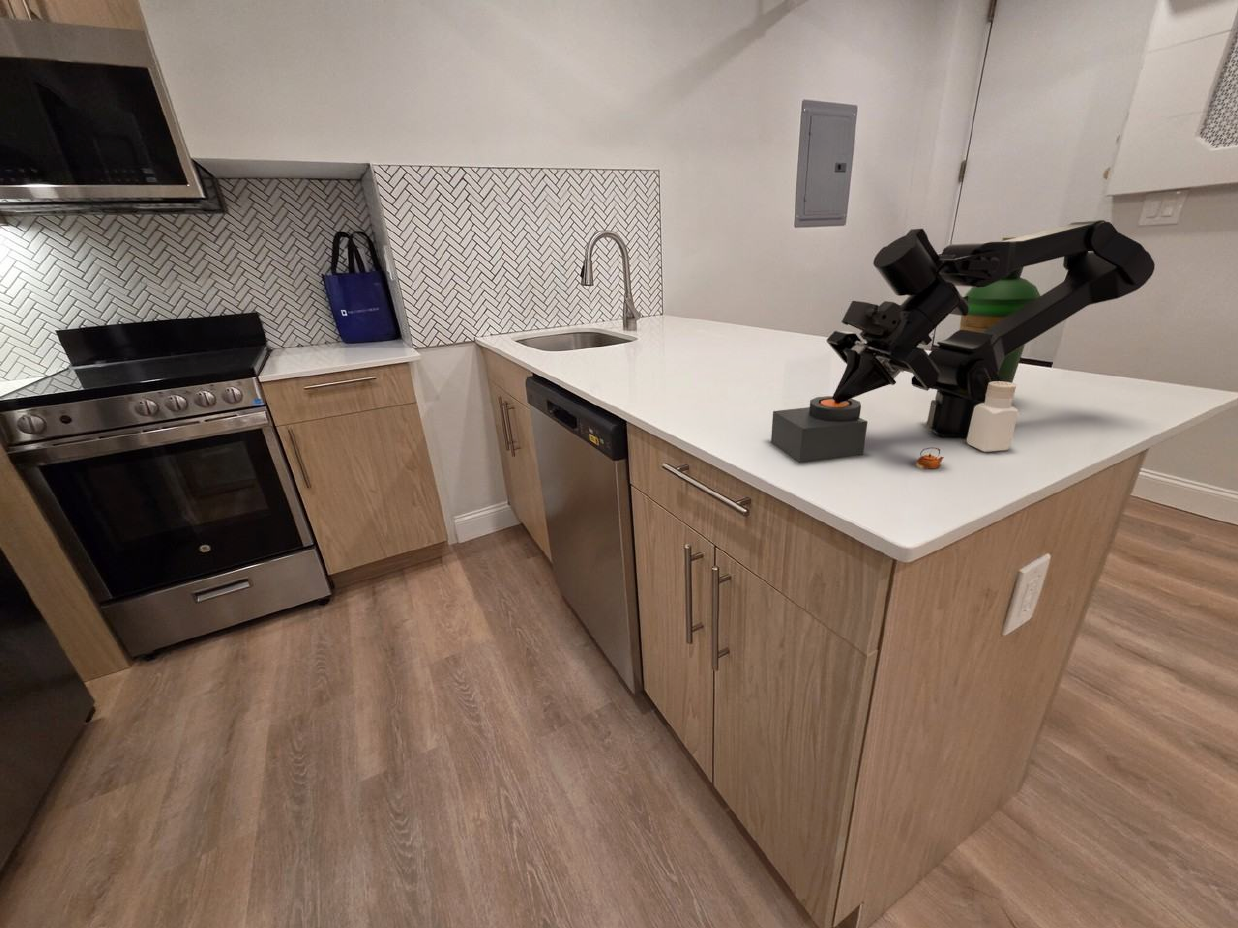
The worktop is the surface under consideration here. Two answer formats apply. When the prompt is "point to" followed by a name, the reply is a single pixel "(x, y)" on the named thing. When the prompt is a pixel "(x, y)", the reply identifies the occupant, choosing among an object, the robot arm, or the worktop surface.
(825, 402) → the orange push button
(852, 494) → the worktop surface
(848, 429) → the push button base
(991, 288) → the bottle
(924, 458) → the teapot
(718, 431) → the worktop surface
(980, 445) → the pepper shaker
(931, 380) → the robot arm
